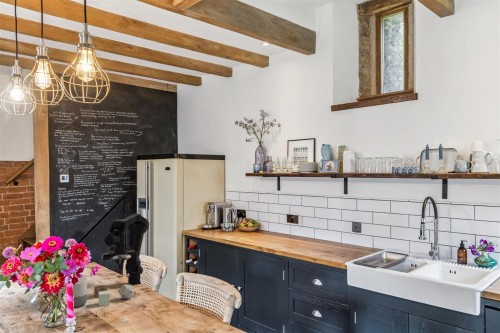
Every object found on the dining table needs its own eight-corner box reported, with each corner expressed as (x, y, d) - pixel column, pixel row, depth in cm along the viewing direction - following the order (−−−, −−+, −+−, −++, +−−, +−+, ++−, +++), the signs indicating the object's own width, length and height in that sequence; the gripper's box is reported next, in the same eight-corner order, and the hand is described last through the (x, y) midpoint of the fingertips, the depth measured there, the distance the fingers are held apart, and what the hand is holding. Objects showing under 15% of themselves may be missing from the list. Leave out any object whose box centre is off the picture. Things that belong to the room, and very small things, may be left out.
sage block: (108, 302, 202) (109, 290, 202) (109, 305, 197) (109, 293, 197) (98, 303, 200) (98, 291, 200) (98, 306, 195) (98, 294, 195)
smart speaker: (63, 308, 192) (63, 280, 192) (71, 302, 201) (72, 275, 201) (82, 308, 192) (83, 280, 192) (90, 302, 201) (90, 275, 201)
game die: (129, 304, 208) (141, 288, 211) (123, 304, 200) (135, 287, 203) (117, 295, 211) (129, 279, 213) (111, 294, 203) (123, 277, 205)
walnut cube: (102, 293, 214) (102, 284, 214) (107, 296, 211) (107, 286, 211) (94, 295, 211) (94, 286, 211) (98, 298, 207) (98, 288, 207)
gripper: (132, 238, 229) (132, 264, 229) (99, 241, 219) (98, 269, 219) (137, 241, 219) (137, 269, 219) (103, 245, 209) (102, 273, 209)
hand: (119, 270), depth 217 cm, fingers closed
